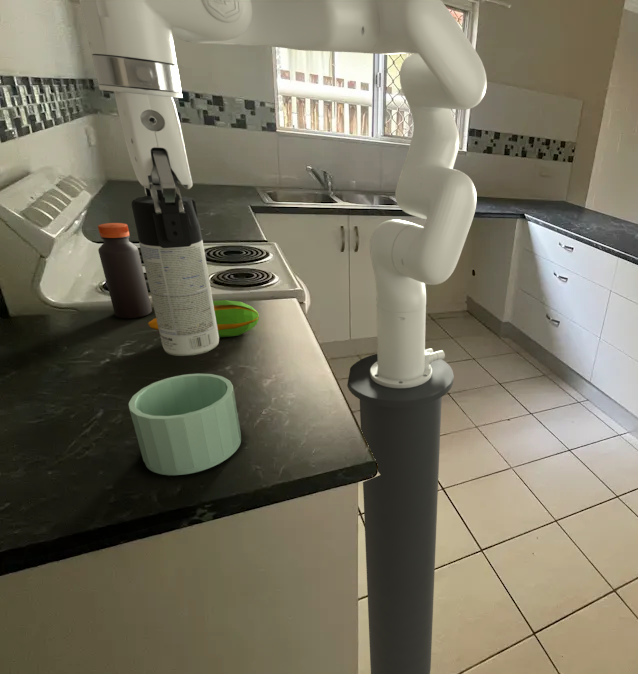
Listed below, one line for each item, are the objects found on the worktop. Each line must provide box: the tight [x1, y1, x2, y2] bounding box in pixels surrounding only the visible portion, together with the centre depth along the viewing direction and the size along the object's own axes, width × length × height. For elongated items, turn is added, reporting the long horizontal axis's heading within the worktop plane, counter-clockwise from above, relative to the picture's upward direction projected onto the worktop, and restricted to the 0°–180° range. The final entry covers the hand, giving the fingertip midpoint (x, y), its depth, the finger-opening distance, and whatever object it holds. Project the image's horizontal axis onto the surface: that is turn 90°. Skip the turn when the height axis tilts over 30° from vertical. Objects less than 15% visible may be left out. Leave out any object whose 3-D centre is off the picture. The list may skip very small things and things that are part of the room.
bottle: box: [97, 222, 153, 319], centre depth 104 cm, size 7×7×20 cm
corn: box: [147, 299, 260, 339], centre depth 99 cm, size 7×8×20 cm
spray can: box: [130, 195, 220, 357], centre depth 62 cm, size 7×7×20 cm
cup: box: [127, 373, 242, 476], centre depth 66 cm, size 12×12×9 cm
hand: (171, 238), depth 60 cm, fingers closed on spray can, 6 cm apart
